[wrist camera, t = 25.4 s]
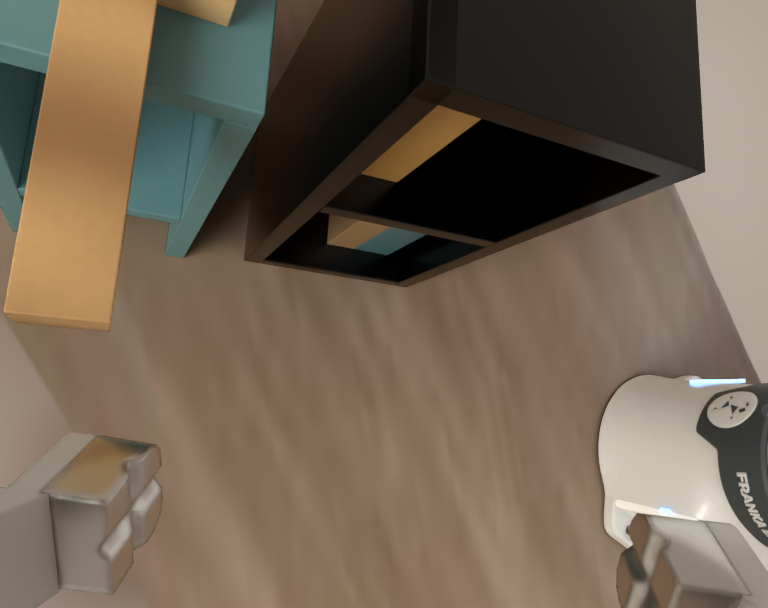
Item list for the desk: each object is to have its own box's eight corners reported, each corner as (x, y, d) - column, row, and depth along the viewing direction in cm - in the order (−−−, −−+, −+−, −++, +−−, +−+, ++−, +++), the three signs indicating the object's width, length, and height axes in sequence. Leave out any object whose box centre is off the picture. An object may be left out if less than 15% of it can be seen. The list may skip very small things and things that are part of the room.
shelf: (406, 287, 47) (705, 172, 24) (243, 260, 41) (425, 78, 18) (412, 159, 49) (692, -62, 26) (258, 117, 44) (438, -207, 21)
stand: (183, 258, 40) (265, 115, 20) (11, 231, 36) (-96, 17, 16) (204, 96, 42) (295, -172, 23) (45, 53, 38) (-13, -322, 18)
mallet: (13, -176, 18) (-10, -327, 14) (241, -84, 21) (272, -190, 17) (-91, 311, 15) (-154, 281, 11) (192, 340, 18) (216, 323, 14)
